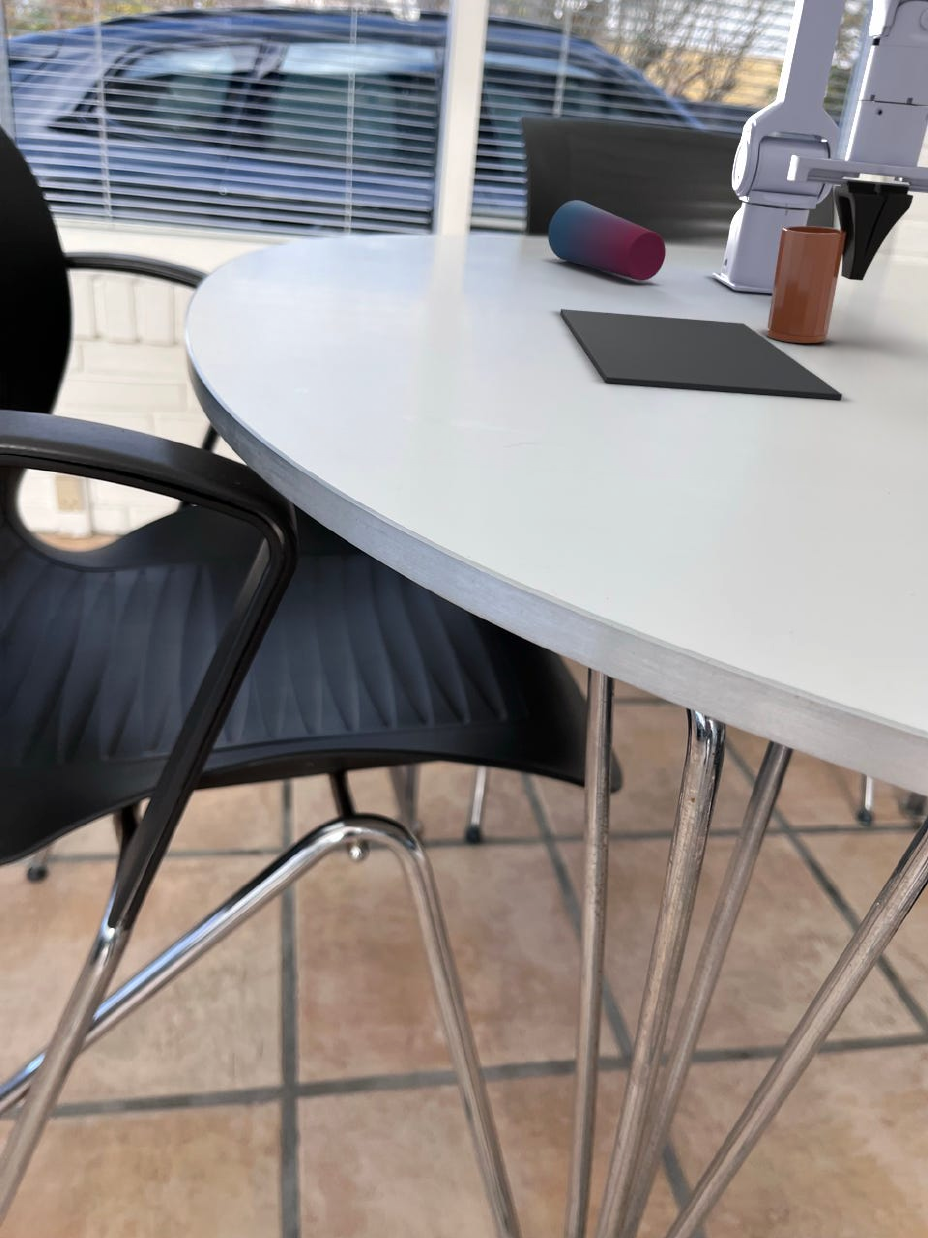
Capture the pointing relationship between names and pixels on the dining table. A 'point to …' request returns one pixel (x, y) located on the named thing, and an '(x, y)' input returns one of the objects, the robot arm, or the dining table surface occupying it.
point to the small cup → (805, 283)
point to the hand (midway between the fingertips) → (851, 278)
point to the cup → (605, 241)
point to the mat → (690, 355)
